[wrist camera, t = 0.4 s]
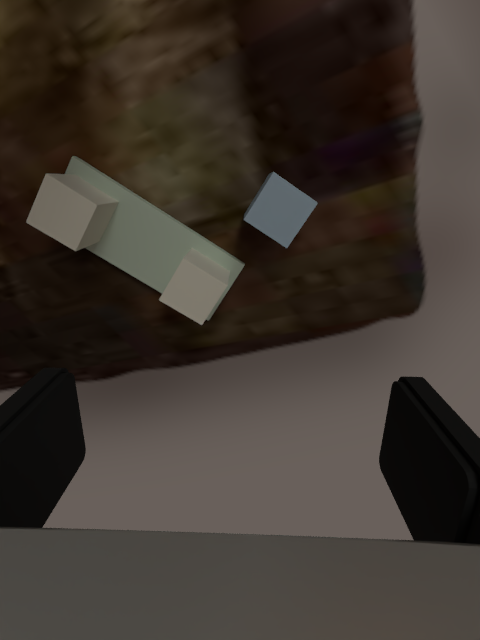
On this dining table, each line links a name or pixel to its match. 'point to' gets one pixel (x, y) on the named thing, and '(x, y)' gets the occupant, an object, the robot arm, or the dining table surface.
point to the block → (279, 209)
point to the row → (134, 238)
